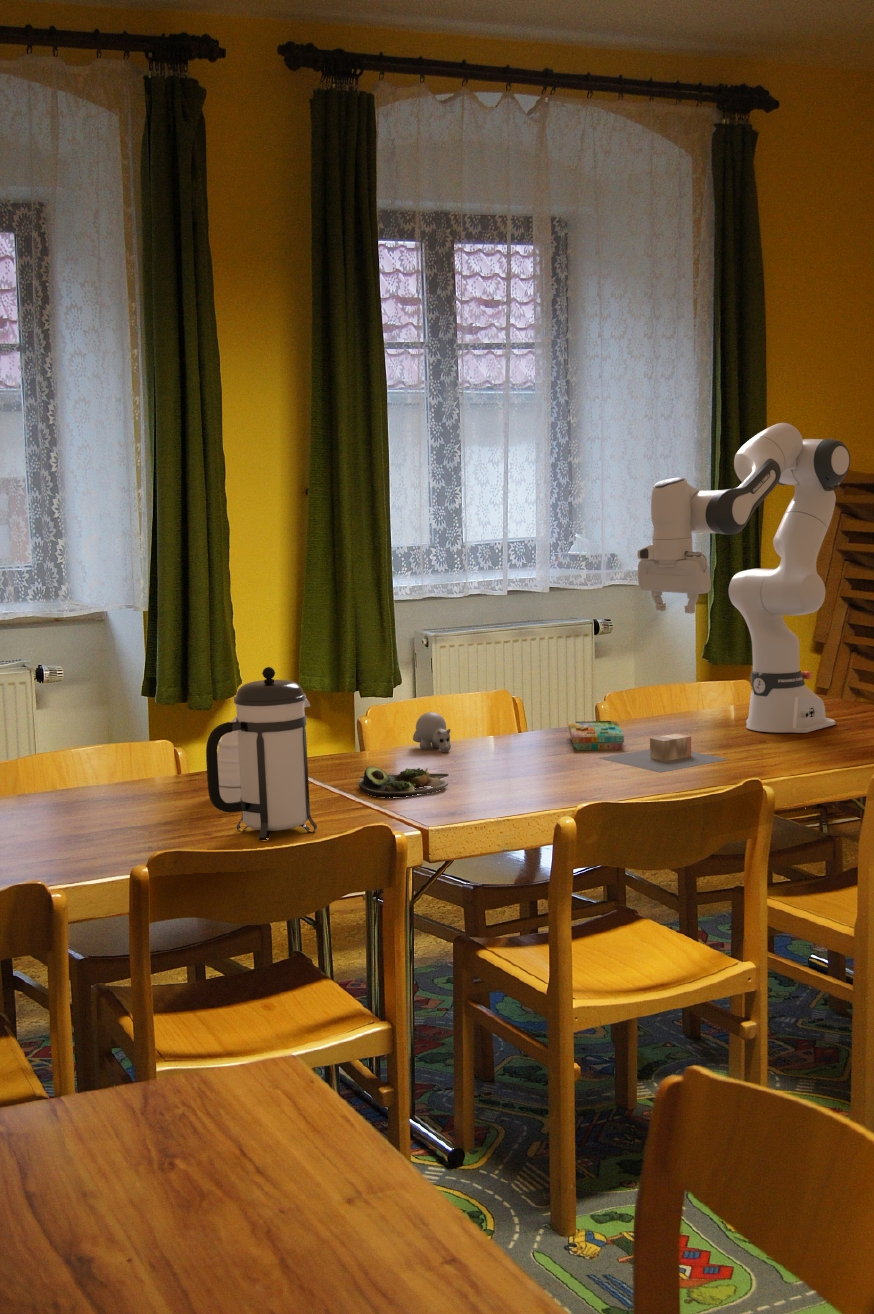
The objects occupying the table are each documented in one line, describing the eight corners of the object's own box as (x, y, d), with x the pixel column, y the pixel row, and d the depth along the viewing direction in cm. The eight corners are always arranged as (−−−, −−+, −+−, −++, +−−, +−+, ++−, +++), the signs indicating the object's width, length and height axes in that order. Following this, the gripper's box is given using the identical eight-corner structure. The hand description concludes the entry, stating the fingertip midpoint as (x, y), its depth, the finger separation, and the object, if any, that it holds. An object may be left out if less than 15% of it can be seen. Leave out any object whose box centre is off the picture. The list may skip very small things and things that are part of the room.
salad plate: (433, 775, 278) (432, 754, 277) (468, 791, 262) (468, 769, 261) (348, 786, 270) (347, 764, 270) (380, 803, 254) (379, 780, 253)
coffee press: (251, 819, 243) (242, 661, 240) (330, 822, 239) (322, 661, 235) (209, 843, 227) (199, 674, 223) (293, 847, 222) (284, 675, 218)
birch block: (664, 740, 280) (691, 736, 285) (649, 738, 284) (676, 733, 288) (664, 761, 281) (691, 756, 285) (650, 758, 285) (677, 753, 289)
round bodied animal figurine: (431, 765, 300) (436, 734, 296) (407, 739, 309) (412, 708, 305) (458, 760, 303) (463, 729, 300) (433, 735, 312) (439, 704, 309)
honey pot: (287, 792, 265) (283, 705, 263) (254, 806, 254) (249, 716, 251) (234, 788, 270) (229, 703, 268) (199, 802, 259) (194, 714, 257)
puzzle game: (572, 733, 295) (568, 718, 315) (572, 753, 296) (568, 737, 316) (623, 732, 295) (616, 717, 314) (624, 752, 295) (616, 736, 315)
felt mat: (666, 747, 297) (666, 746, 297) (729, 760, 281) (729, 759, 281) (598, 759, 287) (598, 758, 287) (660, 773, 270) (660, 772, 270)
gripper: (716, 550, 283) (718, 612, 285) (652, 549, 301) (655, 608, 303) (695, 553, 280) (697, 616, 282) (632, 551, 297) (634, 611, 299)
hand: (675, 612), depth 292 cm, fingers open, 8 cm apart
